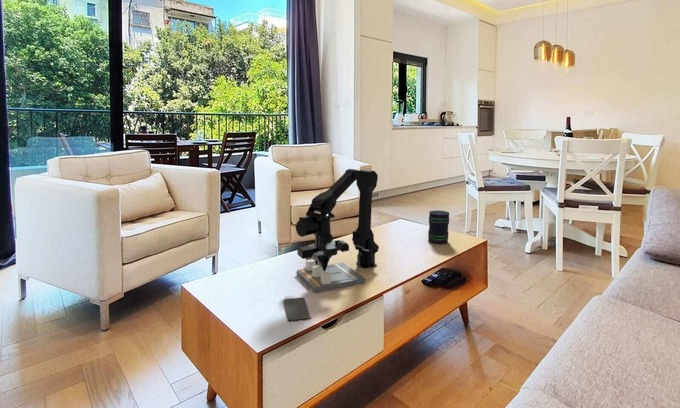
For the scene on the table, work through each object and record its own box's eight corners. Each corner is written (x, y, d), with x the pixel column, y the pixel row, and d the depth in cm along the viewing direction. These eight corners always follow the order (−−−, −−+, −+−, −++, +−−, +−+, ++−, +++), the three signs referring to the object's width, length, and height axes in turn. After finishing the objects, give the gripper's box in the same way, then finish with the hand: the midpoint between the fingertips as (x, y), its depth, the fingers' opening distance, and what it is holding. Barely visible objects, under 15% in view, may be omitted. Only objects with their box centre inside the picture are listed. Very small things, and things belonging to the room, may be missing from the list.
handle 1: (312, 267, 155) (312, 259, 155) (315, 269, 153) (315, 261, 152) (305, 268, 154) (305, 260, 153) (308, 270, 152) (307, 262, 151)
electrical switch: (312, 268, 160) (310, 246, 159) (303, 267, 164) (301, 245, 162) (327, 262, 168) (326, 241, 166) (318, 261, 171) (317, 240, 170)
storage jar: (426, 243, 195) (427, 213, 192) (428, 238, 204) (430, 209, 201) (447, 245, 192) (449, 215, 189) (448, 239, 201) (450, 211, 198)
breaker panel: (342, 267, 162) (342, 262, 162) (365, 283, 145) (365, 277, 145) (296, 274, 154) (296, 269, 153) (315, 293, 137) (315, 287, 136)
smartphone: (288, 320, 117) (283, 299, 131) (288, 323, 117) (283, 301, 131) (311, 318, 118) (304, 297, 132) (311, 320, 118) (304, 299, 133)
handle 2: (328, 280, 142) (328, 271, 141) (331, 283, 140) (331, 273, 139) (320, 282, 141) (320, 272, 140) (323, 284, 139) (323, 275, 138)
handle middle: (319, 274, 149) (319, 265, 148) (322, 276, 146) (322, 267, 146) (312, 275, 147) (312, 266, 147) (314, 277, 145) (314, 268, 144)
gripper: (306, 240, 134) (308, 283, 137) (355, 232, 141) (356, 273, 145) (295, 232, 143) (297, 272, 146) (341, 225, 151) (342, 264, 154)
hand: (324, 271), depth 148 cm, fingers closed
